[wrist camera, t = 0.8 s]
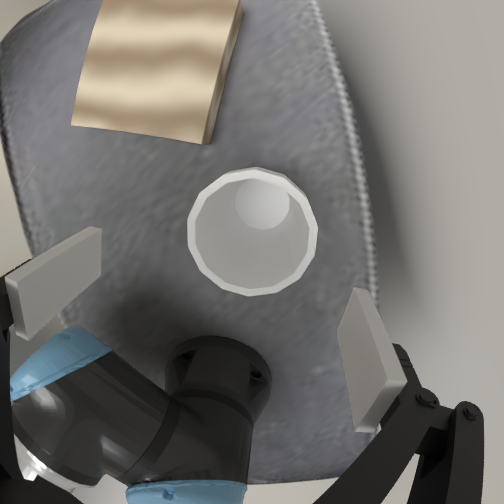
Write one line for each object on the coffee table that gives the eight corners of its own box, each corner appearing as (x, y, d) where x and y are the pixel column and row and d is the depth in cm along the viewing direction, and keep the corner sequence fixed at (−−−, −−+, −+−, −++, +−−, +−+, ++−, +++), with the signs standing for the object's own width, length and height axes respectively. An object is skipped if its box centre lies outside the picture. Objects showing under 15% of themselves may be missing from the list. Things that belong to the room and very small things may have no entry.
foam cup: (317, 226, 35) (334, 272, 23) (241, 254, 37) (221, 311, 25) (285, 146, 32) (286, 148, 20) (206, 179, 34) (166, 201, 22)
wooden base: (210, 143, 33) (201, 144, 29) (89, 125, 33) (70, 125, 29) (243, 12, 27) (239, -2, 24) (119, 7, 28) (104, -3, 24)
